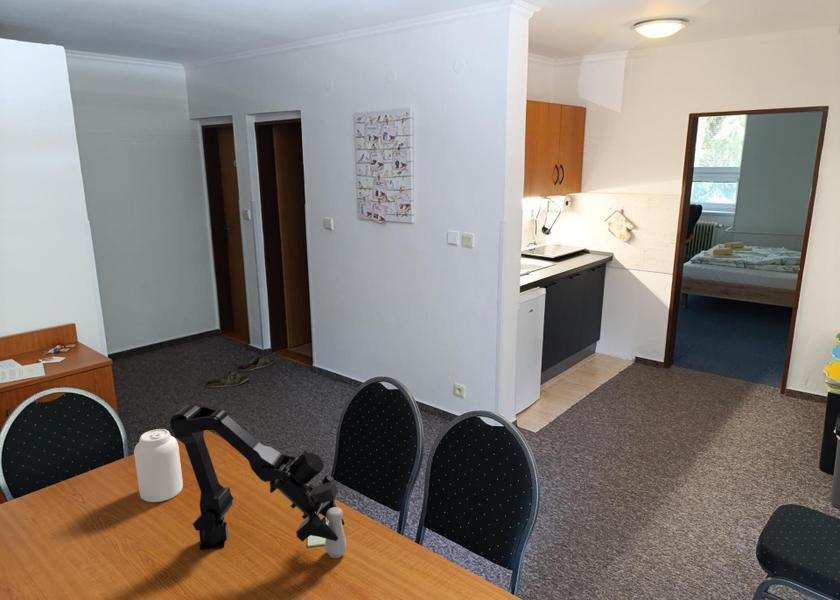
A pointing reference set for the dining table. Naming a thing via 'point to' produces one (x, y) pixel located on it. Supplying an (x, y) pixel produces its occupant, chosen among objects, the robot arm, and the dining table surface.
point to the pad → (316, 540)
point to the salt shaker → (335, 524)
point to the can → (158, 466)
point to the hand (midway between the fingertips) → (340, 532)
